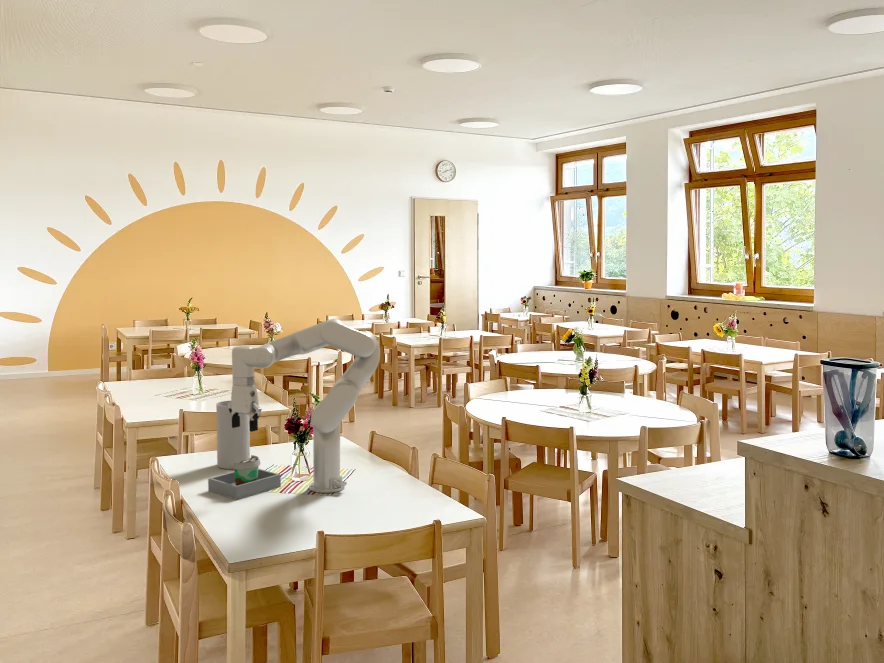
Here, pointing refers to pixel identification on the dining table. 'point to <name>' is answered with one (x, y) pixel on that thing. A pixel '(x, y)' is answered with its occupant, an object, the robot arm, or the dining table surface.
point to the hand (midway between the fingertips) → (244, 429)
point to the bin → (229, 489)
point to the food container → (246, 470)
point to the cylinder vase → (231, 437)
